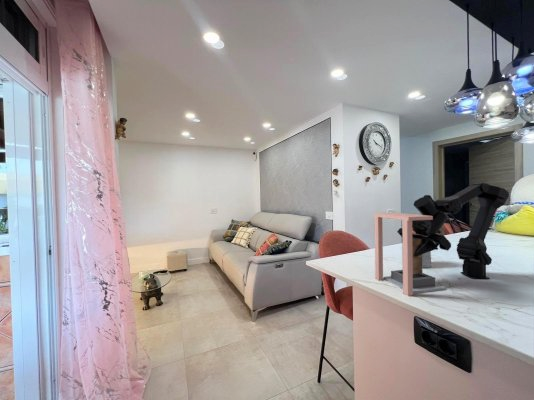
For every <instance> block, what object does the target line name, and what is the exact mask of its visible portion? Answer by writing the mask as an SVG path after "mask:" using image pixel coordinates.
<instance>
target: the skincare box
mask: <svg viewBox="0 0 534 400" xmlns="http://www.w3.org/2000/svg"><path fill="white" fill-rule="evenodd" d="M431 252H432V251H430V252H427V253H424V254H422V269H424V268H432V257H431V255H432V254H431Z"/></svg>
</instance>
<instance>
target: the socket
mask: <svg viewBox="0 0 534 400" xmlns="http://www.w3.org/2000/svg"><path fill="white" fill-rule="evenodd" d="M383 280H385V281H386V282H389V283H391V284H393V285H395V286H397V287H398V288H400V289H402V290H403V269H398V270H397V269H396V270H391V271H390V276H383ZM444 290H446V287H445V286H444V285H440V284H438V283H436V277H434V276H431V275H430V274H426V273H424V272H422V273H421V274H413V295H414V294H422V293H431V292H437V291H444Z"/></svg>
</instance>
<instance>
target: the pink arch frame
mask: <svg viewBox="0 0 534 400" xmlns="http://www.w3.org/2000/svg"><path fill="white" fill-rule="evenodd" d="M373 217H374V265H375V266H374V267H375V268H374V270H375V271H374V272H375V273H374V274H375V275H374V276H375V278H374V279H375V280H377V281H384V279H383V277H384V263H383V262H384V258H383V257H384V254H383V253H384V247H383V245H384V244H383V243H384V242H383V239H384V237H383V218H384V219H392V220H399V221H400V220H401V222H402V224H401V225H402V227H401V228H402V231H403V259H402V270H403V289H402V294H403V295H405V296H407V297H412V296H413V295H414V294H413V257H412V233H413V230H412V229H413V228H412V221H413V220H433V216H426V215H422V214H416V213H415V214H413V213H405V212H404V213H403V212H402V213H401V212H380V213H379V212H375V213H373Z"/></svg>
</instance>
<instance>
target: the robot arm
mask: <svg viewBox="0 0 534 400" xmlns="http://www.w3.org/2000/svg"><path fill="white" fill-rule="evenodd" d="M509 196H510V193H509V191H508V190H506V189H505V188H504V187H499V186H496V185H492V184H491V185H490V184H489V183H486V182H477V183H475V182H474V183H472V184H469V186H467V187H465V188H464V189H462V190H460V191H458V192H456V193H455V194H453V195H451V196H447V197H442V198H439V199H436V200H434V199H433V197H432V196H431V195H430V194H425V195H424V196H422V197H419V198H418V199H416V200H414V202H413V206H414V208H416V210H417V211H418V212H419V214H420V215H426V216H433V220H413V221H412V237H413V238H418V239H422V242H421V244H420V246H419V247H418V248H417V250H416V251H415V253H414V256H415V257H417V256H419V255H422V254H424V253H427V252H433V251H435V250H436V251H437V250H439V249H440V250H442V251H443V250H444V251H447V252H448V251H450V249H451V248H452V243H451V241H449V239H447V237H446V236H445V235H444V234H441V233H442V232H441V229H442V227H443V226H444V224H448V225H449V224H451V223H452V221H451V220H450V216H447V215H455V214H457V213H459V212H460V211H461V210H462V209H463V205H465V204H466V203H468V202H470V201H471V200H473V199H475V198H477V201H478V204H479V208H478V210H477V213H476V215H475V218H474V220H473V223H472V225H471V227H470V230H469V233H468V235H466V237H460V238H459V241H458V242H457V244H456V253H457V256H458V259H459V260H462V262H463V263H462V266H461V267H462V271H460V274H461V275H464V276H466V277H468V278H471V279H473V280H475V279H476V280H479V279H480V280H489V279H490V277H489V276H487V266H489V265H491V264H492V261H493V258H492V257H491V256H490V255H489V254H488V253H487V248H488V247H487V245H486V242H485V239H486V237H487V234H488V232H489V229H490V226H491V224H492V221H493V219H494V216H495V213H496V211H497V210H498V209H500V208H501V207H502V206H504V205H505V203H507V200H508V198H509ZM397 234H399V236H400V237H401V239H402V238H403V231H402V227H400V228H399V229H397Z"/></svg>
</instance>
